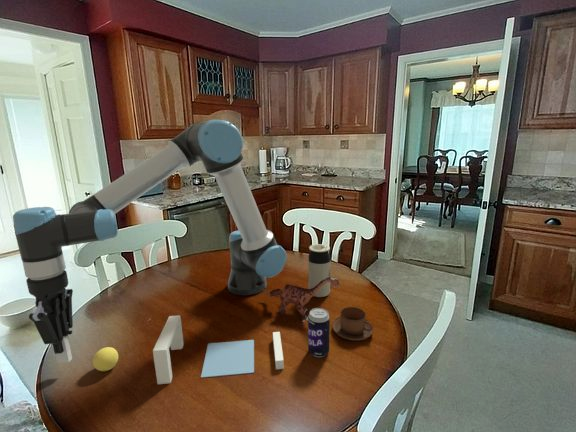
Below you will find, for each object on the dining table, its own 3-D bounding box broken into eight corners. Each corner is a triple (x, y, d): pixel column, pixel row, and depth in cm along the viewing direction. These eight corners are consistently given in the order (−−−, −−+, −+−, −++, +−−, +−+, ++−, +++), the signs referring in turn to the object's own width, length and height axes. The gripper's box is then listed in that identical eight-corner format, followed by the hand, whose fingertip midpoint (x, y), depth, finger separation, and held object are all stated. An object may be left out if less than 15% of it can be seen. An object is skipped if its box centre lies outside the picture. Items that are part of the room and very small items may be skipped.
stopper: (279, 339, 90) (279, 331, 90) (283, 368, 79) (283, 360, 78) (273, 339, 90) (272, 332, 90) (275, 369, 79) (275, 360, 78)
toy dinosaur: (336, 330, 94) (337, 284, 91) (251, 309, 107) (249, 268, 103) (343, 316, 102) (344, 273, 98) (264, 297, 114) (262, 259, 111)
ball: (123, 359, 83) (120, 341, 82) (114, 375, 78) (110, 355, 76) (101, 361, 83) (97, 343, 81) (90, 377, 77) (86, 357, 76)
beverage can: (306, 346, 87) (306, 307, 84) (326, 344, 88) (327, 306, 85) (309, 360, 82) (309, 319, 79) (331, 358, 82) (331, 318, 79)
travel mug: (305, 295, 115) (305, 249, 111) (312, 286, 122) (312, 242, 118) (326, 299, 112) (327, 252, 108) (332, 289, 119) (332, 245, 115)
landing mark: (253, 340, 90) (253, 339, 90) (254, 372, 78) (254, 372, 78) (208, 344, 89) (208, 343, 89) (200, 377, 76) (200, 377, 76)
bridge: (183, 344, 89) (180, 315, 87) (170, 383, 75) (166, 349, 73) (172, 345, 89) (169, 316, 86) (157, 384, 75) (152, 350, 72)
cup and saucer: (374, 324, 97) (375, 306, 96) (371, 348, 86) (372, 328, 85) (336, 317, 101) (336, 300, 100) (328, 340, 90) (328, 321, 89)
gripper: (47, 263, 79) (64, 345, 84) (7, 287, 66) (30, 381, 72) (78, 262, 79) (93, 343, 85) (45, 285, 67) (65, 378, 72)
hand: (64, 360), depth 78 cm, fingers closed
